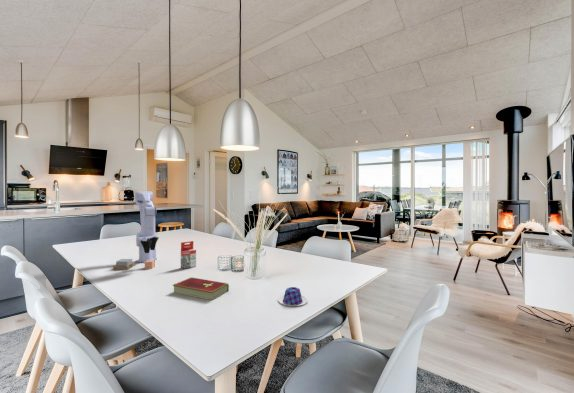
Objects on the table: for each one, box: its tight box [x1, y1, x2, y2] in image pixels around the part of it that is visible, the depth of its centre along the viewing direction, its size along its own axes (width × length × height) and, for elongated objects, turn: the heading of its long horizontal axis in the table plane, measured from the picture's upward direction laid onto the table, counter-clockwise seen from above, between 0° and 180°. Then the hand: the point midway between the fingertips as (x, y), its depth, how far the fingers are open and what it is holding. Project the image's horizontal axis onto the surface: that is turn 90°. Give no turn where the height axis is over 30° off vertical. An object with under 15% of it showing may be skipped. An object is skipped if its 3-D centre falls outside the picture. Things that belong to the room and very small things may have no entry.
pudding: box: [277, 286, 308, 307], centre depth 116 cm, size 12×12×5 cm
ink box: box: [180, 240, 197, 270], centre depth 163 cm, size 4×8×15 cm, turn 134°
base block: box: [112, 262, 136, 271], centre depth 161 cm, size 8×8×2 cm
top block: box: [115, 258, 133, 266], centre depth 161 cm, size 6×6×2 cm
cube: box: [144, 260, 156, 270], centre depth 161 cm, size 4×4×4 cm
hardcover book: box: [172, 277, 230, 301], centre depth 125 cm, size 12×21×4 cm, turn 67°
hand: (149, 251), depth 161 cm, fingers open, 7 cm apart
